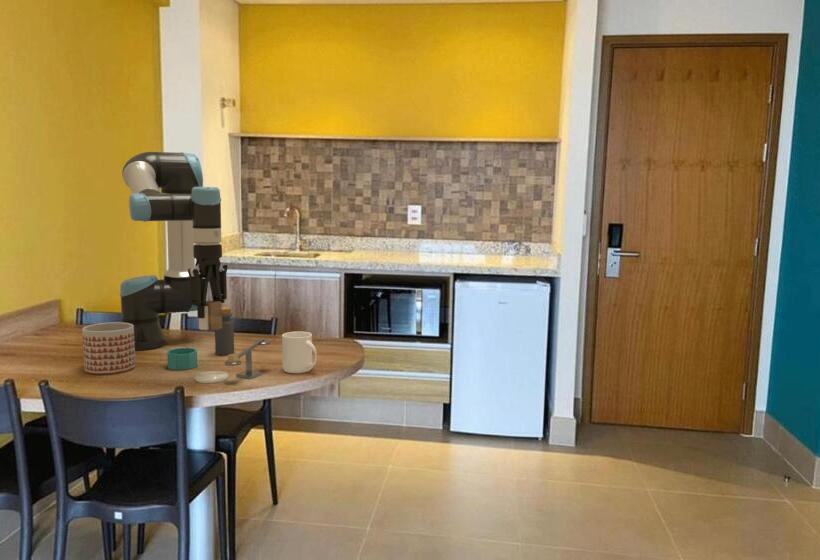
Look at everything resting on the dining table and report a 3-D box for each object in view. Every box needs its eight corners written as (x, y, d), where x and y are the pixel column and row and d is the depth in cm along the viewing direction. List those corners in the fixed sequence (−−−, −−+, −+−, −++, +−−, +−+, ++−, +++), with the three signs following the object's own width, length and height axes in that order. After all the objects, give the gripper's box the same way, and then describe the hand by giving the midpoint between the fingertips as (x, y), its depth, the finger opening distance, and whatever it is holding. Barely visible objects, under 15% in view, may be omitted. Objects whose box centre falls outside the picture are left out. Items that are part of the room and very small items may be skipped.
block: (198, 329, 182) (197, 302, 181) (209, 326, 186) (208, 300, 185) (211, 331, 180) (210, 303, 179) (222, 328, 184) (221, 301, 183)
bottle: (238, 352, 215) (236, 307, 213) (226, 356, 210) (224, 310, 208) (223, 350, 217) (222, 305, 215) (211, 354, 212) (210, 308, 210)
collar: (161, 367, 196) (160, 352, 195) (181, 361, 203) (181, 346, 203) (183, 371, 192) (182, 355, 192) (203, 364, 200) (202, 349, 199)
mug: (305, 377, 187) (305, 340, 186) (276, 370, 194) (275, 334, 193) (326, 371, 194) (326, 335, 192) (297, 364, 201) (297, 330, 199)
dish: (187, 380, 183) (187, 377, 182) (209, 372, 191) (209, 369, 191) (213, 384, 179) (213, 381, 179) (234, 376, 187) (234, 373, 187)
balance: (221, 382, 181) (220, 349, 180) (261, 367, 197) (260, 336, 196) (235, 385, 179) (234, 351, 178) (275, 369, 195) (274, 338, 194)
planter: (103, 378, 185) (100, 333, 183) (74, 370, 192) (72, 327, 190) (145, 367, 196) (143, 325, 195) (117, 360, 203) (115, 320, 202)
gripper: (195, 246, 171) (198, 335, 174) (239, 242, 186) (241, 323, 189) (173, 245, 174) (176, 332, 177) (218, 241, 189) (220, 321, 192)
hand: (210, 327), depth 183 cm, fingers closed on block, 4 cm apart
